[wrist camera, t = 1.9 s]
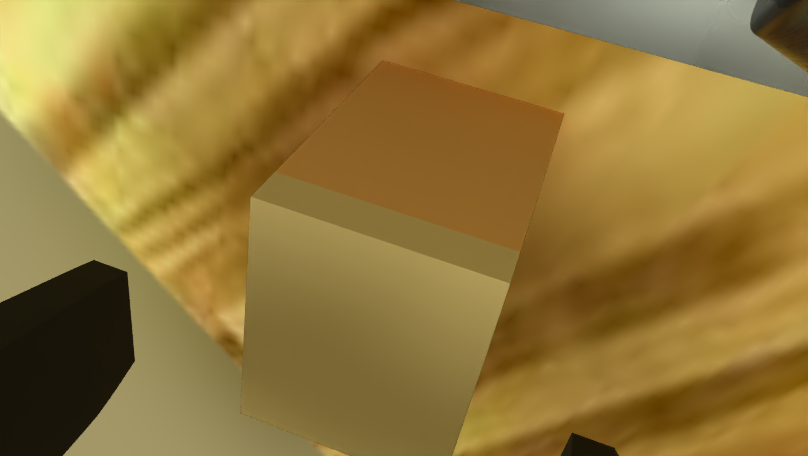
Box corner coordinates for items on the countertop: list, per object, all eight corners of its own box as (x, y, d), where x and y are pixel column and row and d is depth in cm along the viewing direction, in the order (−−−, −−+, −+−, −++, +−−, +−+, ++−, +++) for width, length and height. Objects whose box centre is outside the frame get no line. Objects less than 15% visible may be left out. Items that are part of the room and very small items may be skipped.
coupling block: (564, 113, 15) (510, 283, 10) (504, 292, 18) (440, 490, 13) (383, 60, 15) (250, 196, 11) (354, 242, 18) (240, 413, 14)
